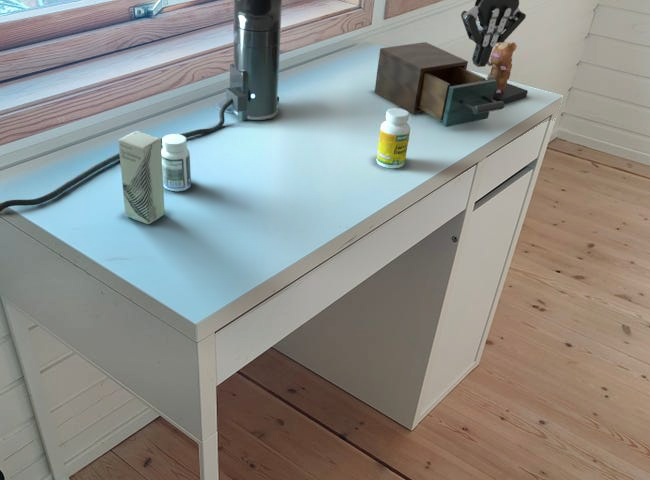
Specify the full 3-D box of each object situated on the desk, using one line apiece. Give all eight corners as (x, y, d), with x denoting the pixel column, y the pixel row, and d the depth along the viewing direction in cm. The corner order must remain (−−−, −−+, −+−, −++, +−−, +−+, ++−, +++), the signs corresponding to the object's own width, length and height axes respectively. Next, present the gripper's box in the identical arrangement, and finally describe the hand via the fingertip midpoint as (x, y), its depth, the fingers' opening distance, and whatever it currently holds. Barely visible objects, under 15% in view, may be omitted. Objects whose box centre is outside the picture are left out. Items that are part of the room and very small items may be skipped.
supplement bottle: (388, 154, 130) (395, 104, 124) (410, 163, 128) (419, 112, 121) (370, 162, 128) (376, 111, 121) (392, 171, 125) (400, 120, 118)
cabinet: (458, 106, 151) (468, 61, 145) (412, 114, 146) (420, 68, 140) (418, 85, 161) (425, 41, 154) (374, 92, 156) (380, 48, 150)
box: (124, 216, 109) (115, 138, 101) (141, 205, 112) (134, 129, 103) (150, 226, 107) (143, 147, 99) (167, 214, 110) (162, 137, 101)
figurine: (463, 92, 158) (475, 37, 150) (490, 84, 163) (503, 30, 155) (499, 106, 152) (513, 49, 144) (526, 97, 157) (541, 41, 149)
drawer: (506, 128, 140) (516, 89, 135) (463, 137, 136) (472, 97, 131) (447, 97, 153) (454, 60, 147) (405, 104, 148) (411, 67, 143)
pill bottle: (177, 176, 120) (174, 130, 115) (196, 185, 118) (194, 138, 113) (157, 185, 117) (153, 138, 112) (177, 194, 115) (174, 147, 110)
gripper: (528, -44, 121) (496, 55, 133) (465, -44, 117) (438, 58, 129) (554, -31, 116) (518, 71, 128) (489, -31, 112) (459, 75, 124)
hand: (478, 65), depth 128 cm, fingers closed
